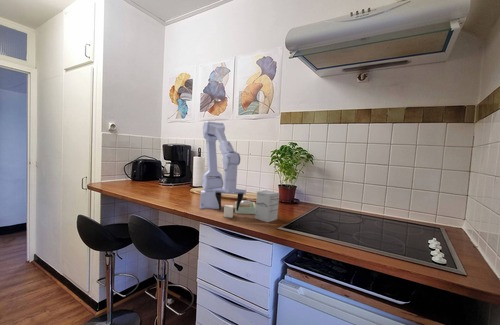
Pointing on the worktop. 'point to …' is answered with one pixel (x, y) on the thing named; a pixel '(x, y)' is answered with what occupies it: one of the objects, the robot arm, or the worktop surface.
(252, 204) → the sage tote
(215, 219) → the worktop surface
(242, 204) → the steel tin
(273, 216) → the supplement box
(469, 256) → the worktop surface
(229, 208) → the cream carton
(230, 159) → the robot arm
